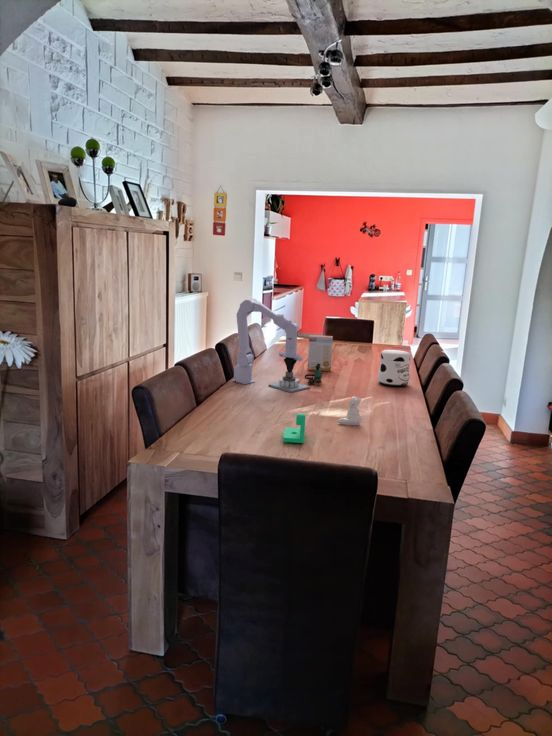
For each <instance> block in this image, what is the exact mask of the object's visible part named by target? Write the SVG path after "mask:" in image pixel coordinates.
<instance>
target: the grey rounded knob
mask: <svg viewBox="0 0 552 736" xmlns="http://www.w3.org/2000/svg"><path fill="white" fill-rule="evenodd" d="M282 378H283V380H285V381H295V380H296V377H295V376H294V371H292V372H288V371H287V370H286V371H285V376H282Z"/></svg>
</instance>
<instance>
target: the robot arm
mask: <svg viewBox="0 0 552 736" xmlns="http://www.w3.org/2000/svg"><path fill="white" fill-rule="evenodd" d="M252 312H256V313H261V314H263V315H264V316H266V317H268V318H270V319H271V320H272V321H273V324H274V325H276V326H277V327H279V328H280V329H282V330H283V331H284V332H285V347H284V348H285V349H284V350H285V351H284V352H278V357H280V358H281V357H282V358H283V361H284V364H285V366H286V371H288V372H293V369H294V367H295V364H296V363H297V361H299V362H302V361H303V356H300V355H298V354H297V348H298V343H297V342H298V332H299V329H300V328H299V325H298V324H297V323H296V322H295V321H292V320H291V319H288V318H287V317H285V315H284V314H283V313H278V314H277V313H276V312H274V311H273V310H271V309H270V308H269V307H267V306H266V305H265V304H264V303H262V302H261V301H258V300H257V299H256V298H250V299H245V300H243V301H242V302H241V303H240V304H239V307H238V310H237V313H236V324H237V325H236V327H237V334H238V335H237V337H238V346H239V349H238V352H237V358H236V361H237V364H236V365H235V366H234V369H233V379H232V381H233V382H235V381H236V383H239V384H243V385H247V384H253V383H255V382H256V381H255V380H252V379H253V378H252V377H253V373H252V372H253V364H252V363H253V362H254V360H255V356H254V354H253V352H252V348H251V346H250V337H249V328H248V317H249V316H250V314H252Z"/></svg>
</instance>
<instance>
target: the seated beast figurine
mask: <svg viewBox="0 0 552 736" xmlns="http://www.w3.org/2000/svg"><path fill="white" fill-rule="evenodd" d="M361 401H362V398H361V397H360V398H359V397H357V396H352V397H351V399H350V400H349V403H348V406H349V407H348V409H347V413H346V416H345V417H341V418H339V419H338V420H337V423H340V424H339V425H341V424H346V425H345V426H351V425H354V426H353V427H355V426H356V427H357V426H360V425H361V423H362V420H363V419H362V416H361V414H360V410H359V407H358V406H359V405H360V403H361Z"/></svg>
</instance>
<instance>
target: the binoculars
mask: <svg viewBox="0 0 552 736" xmlns="http://www.w3.org/2000/svg"><path fill="white" fill-rule="evenodd" d="M315 367H316V370H315V371H314V374H313V373H312V374H311V373H310V374H305V375H304V379H305V380H308V381H307V385H311V384H313V385H314V384H315V385H317V386H321V384H322V383H323V382H322V377H323V375H324V374H323V372H324V371H321V368H320V364H317V366H315ZM322 374H323V375H322Z"/></svg>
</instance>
